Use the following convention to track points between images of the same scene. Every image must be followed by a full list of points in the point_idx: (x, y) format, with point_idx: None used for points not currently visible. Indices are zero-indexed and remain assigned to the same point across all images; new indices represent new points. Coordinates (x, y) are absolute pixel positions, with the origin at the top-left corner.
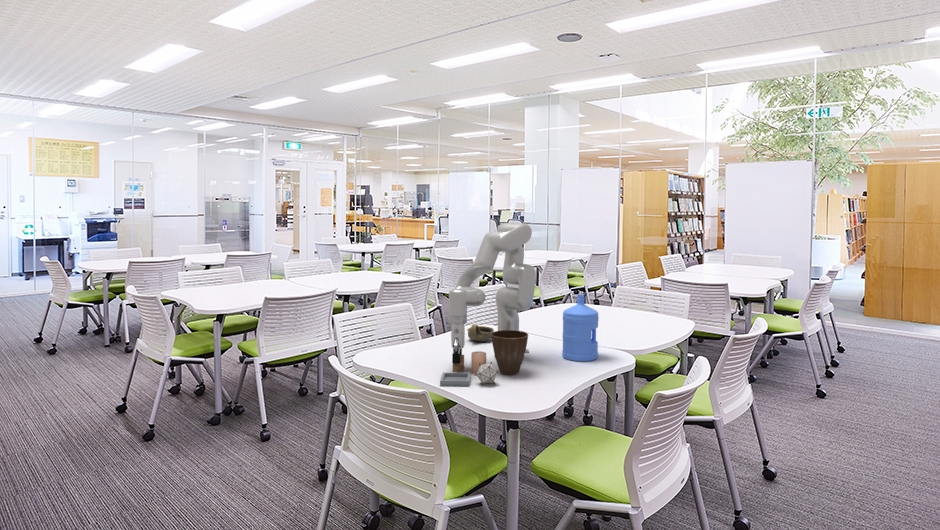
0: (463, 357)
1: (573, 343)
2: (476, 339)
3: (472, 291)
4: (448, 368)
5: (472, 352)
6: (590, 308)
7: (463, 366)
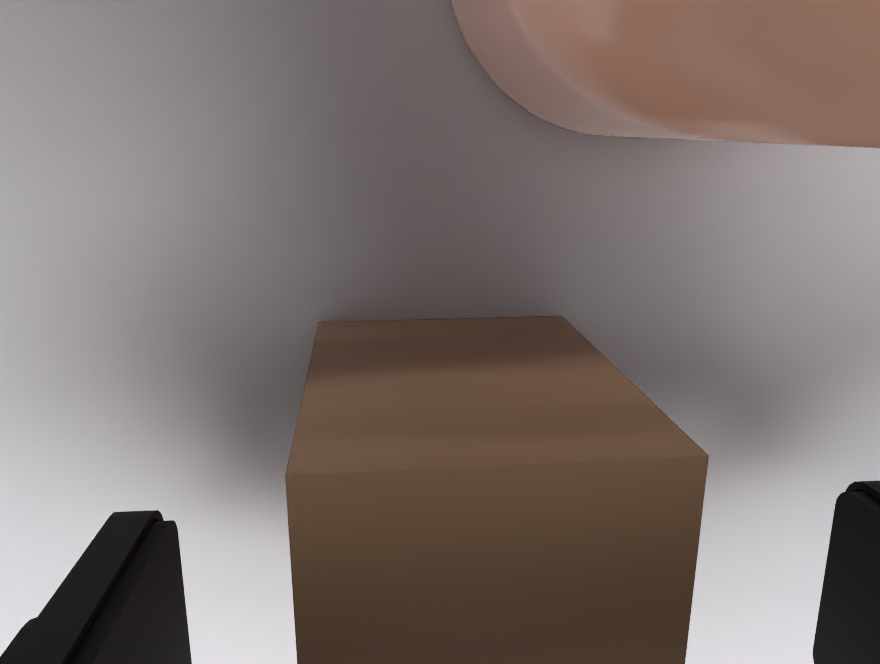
0: (705, 459)
1: None
2: None
3: None
4: None
5: (864, 93)
6: None
7: (599, 355)
